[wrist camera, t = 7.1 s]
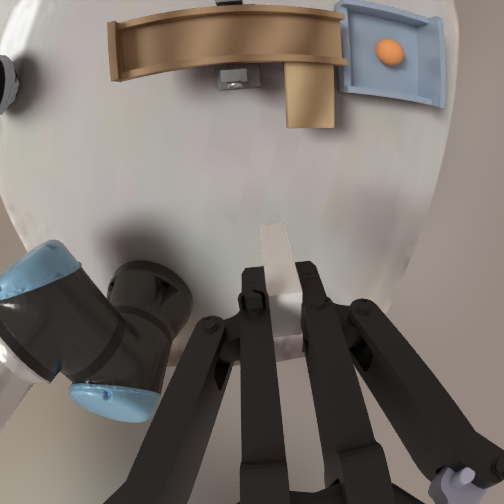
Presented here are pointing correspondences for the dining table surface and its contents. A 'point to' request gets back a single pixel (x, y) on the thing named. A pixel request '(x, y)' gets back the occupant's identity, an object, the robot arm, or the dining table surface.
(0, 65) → the toy
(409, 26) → the tray
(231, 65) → the stand
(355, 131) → the dining table surface
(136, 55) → the lever
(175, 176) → the dining table surface
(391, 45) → the ball
